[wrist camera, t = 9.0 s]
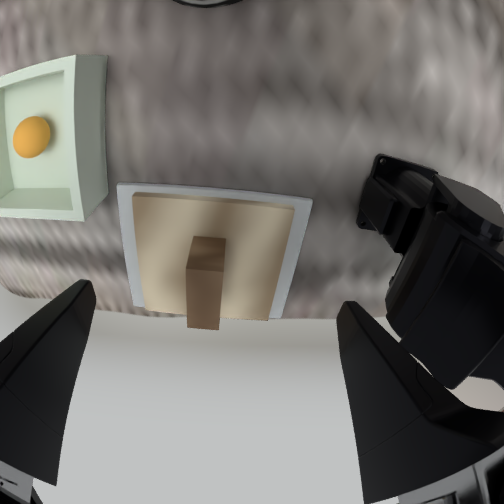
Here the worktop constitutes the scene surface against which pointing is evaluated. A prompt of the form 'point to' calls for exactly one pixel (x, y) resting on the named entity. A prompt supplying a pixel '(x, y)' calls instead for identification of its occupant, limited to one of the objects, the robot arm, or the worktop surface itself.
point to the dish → (55, 139)
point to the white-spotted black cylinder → (206, 3)
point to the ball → (31, 137)
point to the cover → (209, 255)
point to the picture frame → (299, 203)
